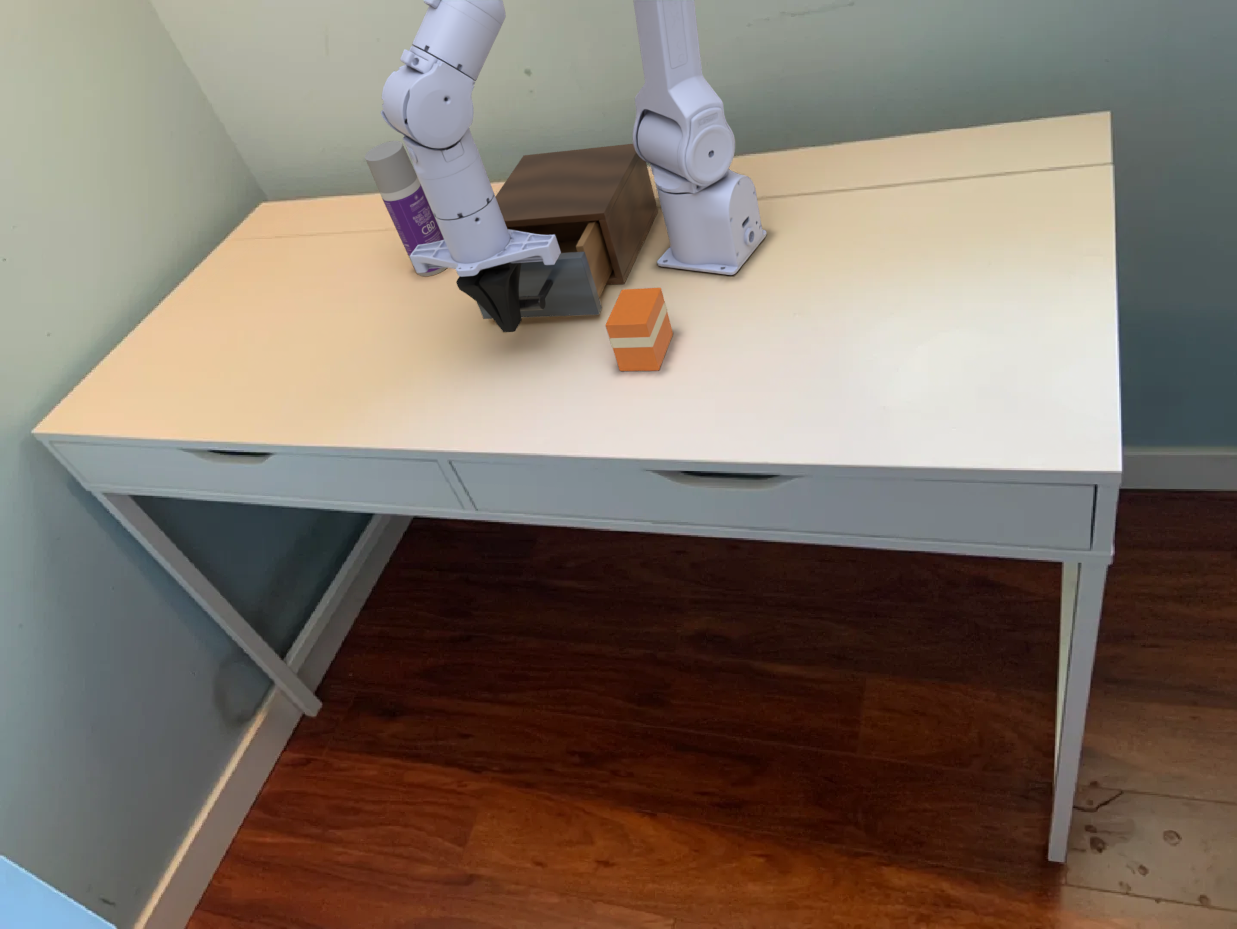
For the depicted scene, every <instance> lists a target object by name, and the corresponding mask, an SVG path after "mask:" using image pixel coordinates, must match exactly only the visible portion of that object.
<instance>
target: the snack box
mask: <svg viewBox="0 0 1237 929" xmlns="http://www.w3.org/2000/svg"><path fill="white" fill-rule="evenodd" d="M605 329H606V333H607V335H608V339H609V342H610V345H611V346H610V347H611V348H612V351H613V354H614V357H615V361H616V363H617V367H618V370H619V372H644V371H645V372H646V371H647V372H649V371H651V372H652V371H657V372H658V371H660V369H661V367H662V364H663V361H664V359H665V356H666V353H667V351H668V348H669V346H670V343H671V341H672V338H673V336H674V332H673V328H672V325H671V321H670V317H669V313H668V307H667V304H666V300H665V298H664V293H663V289H662V288H661V287H647V288H646V287H645V288H625V289H621V290H620V292H619V294H618V297H617V299H616V301H615V303H614V306H613V307H612V310H611V312H610V314H609V316H608V318H607V320H606V322H605Z"/></svg>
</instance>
